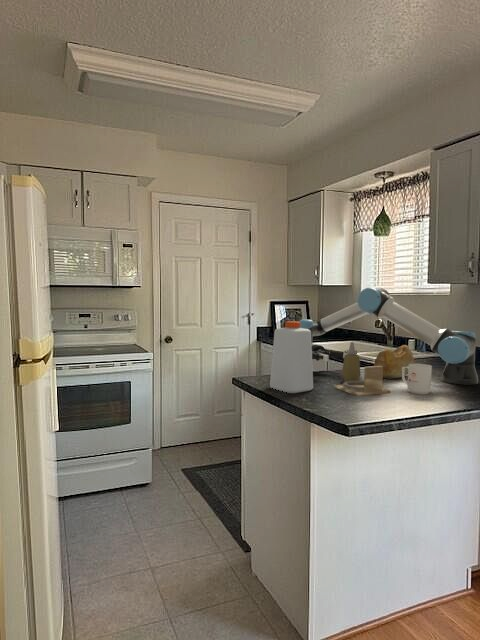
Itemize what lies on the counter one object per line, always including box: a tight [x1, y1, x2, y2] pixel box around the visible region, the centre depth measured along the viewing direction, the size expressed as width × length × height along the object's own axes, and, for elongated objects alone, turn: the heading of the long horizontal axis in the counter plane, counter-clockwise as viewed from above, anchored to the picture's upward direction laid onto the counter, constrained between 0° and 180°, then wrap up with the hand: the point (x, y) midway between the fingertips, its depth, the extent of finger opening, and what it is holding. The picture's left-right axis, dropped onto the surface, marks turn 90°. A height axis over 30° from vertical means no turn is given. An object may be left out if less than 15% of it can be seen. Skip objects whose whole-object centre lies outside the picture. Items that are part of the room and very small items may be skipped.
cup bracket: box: [333, 365, 391, 397], centre depth 185 cm, size 16×16×11 cm
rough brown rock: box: [373, 344, 415, 380], centre depth 218 cm, size 23×17×15 cm
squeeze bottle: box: [341, 341, 361, 382], centre depth 201 cm, size 8×8×18 cm
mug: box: [401, 363, 433, 395], centre depth 184 cm, size 12×9×11 cm
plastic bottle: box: [269, 320, 314, 394], centre depth 184 cm, size 15×15×28 cm
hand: (340, 357), depth 208 cm, fingers open, 13 cm apart
